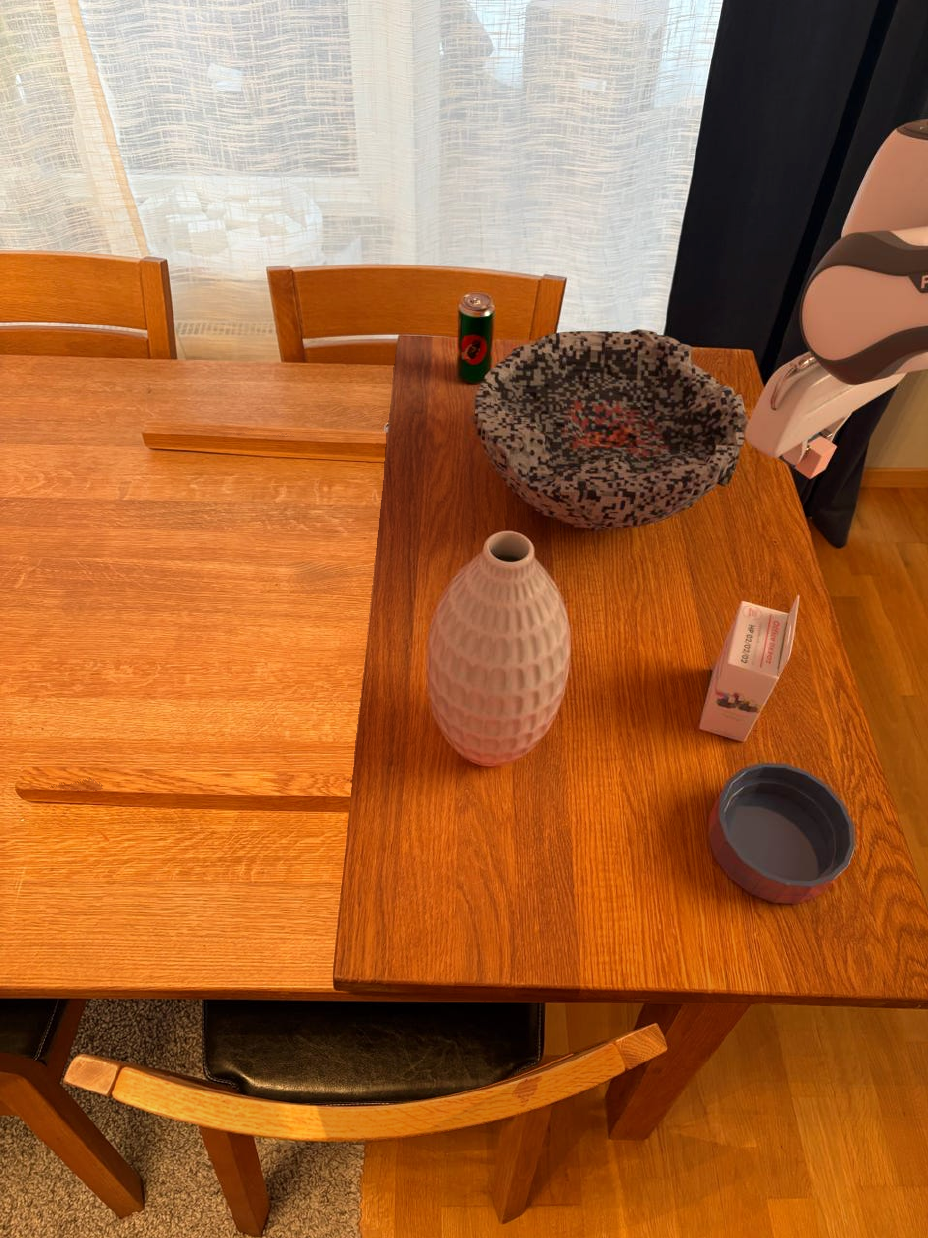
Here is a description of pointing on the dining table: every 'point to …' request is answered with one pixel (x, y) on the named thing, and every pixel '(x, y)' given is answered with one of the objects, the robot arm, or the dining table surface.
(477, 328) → the soda can
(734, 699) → the ink box
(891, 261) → the robot arm
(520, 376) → the bowl
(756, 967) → the dining table surface
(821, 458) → the eraser
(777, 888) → the blue bowl
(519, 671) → the vase
